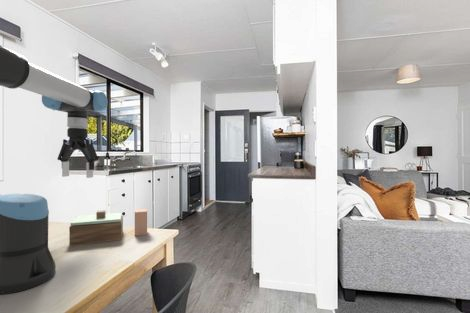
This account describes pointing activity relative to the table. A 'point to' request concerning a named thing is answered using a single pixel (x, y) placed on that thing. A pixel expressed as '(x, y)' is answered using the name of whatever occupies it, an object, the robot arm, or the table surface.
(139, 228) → the key block
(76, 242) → the wooden box
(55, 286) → the table surface
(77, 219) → the lid
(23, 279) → the robot arm
